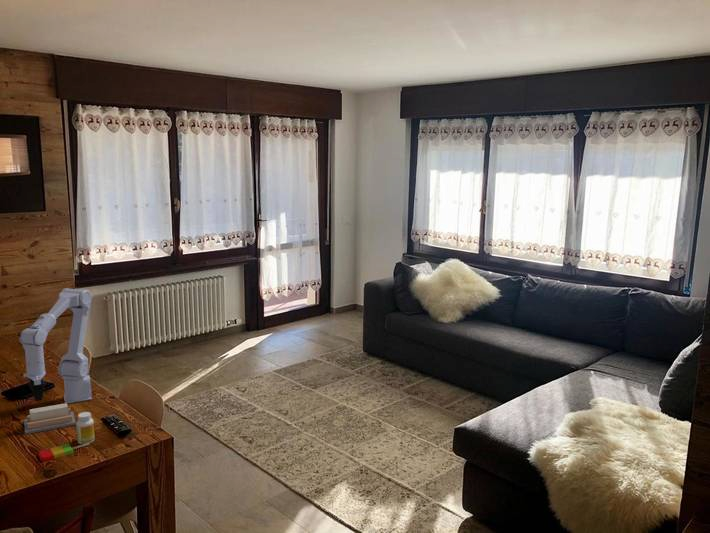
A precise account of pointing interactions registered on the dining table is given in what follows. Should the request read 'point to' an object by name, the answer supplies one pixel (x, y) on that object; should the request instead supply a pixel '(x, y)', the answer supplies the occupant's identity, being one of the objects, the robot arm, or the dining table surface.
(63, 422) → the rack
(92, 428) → the supplement bottle
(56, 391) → the dining table surface
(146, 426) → the dining table surface
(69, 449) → the popsicle
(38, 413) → the beige rectangular block
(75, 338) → the robot arm
